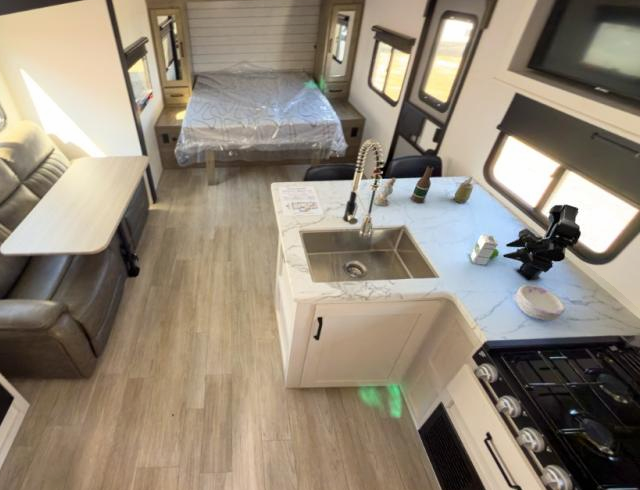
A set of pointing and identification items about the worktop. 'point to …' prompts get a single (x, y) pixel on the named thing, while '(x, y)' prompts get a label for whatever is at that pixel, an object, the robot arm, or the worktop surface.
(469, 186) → the squeeze bottle
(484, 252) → the syrup box
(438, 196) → the worktop surface
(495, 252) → the lime
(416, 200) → the beer bottle
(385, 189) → the figurine
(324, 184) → the worktop surface
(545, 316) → the paper bowls
